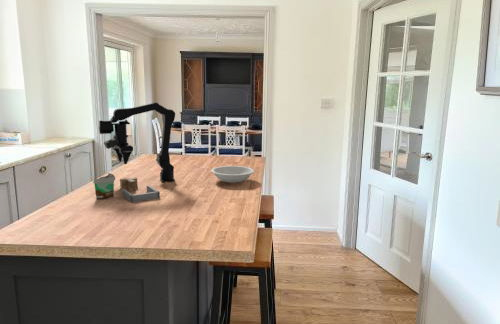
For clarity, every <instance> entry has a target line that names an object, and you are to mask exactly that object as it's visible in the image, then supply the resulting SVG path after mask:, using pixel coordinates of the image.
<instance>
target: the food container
mask: <svg viewBox="0 0 500 324" xmlns="http://www.w3.org/2000/svg"><path fill="white" fill-rule="evenodd" d="M115 181H116V176H115V175H114V174H113V173H111V172H110V173H107V175H105V176H101V177H99V178H93V184H94V190H95V191H94V192H95V198H96V200H108V199H110V198H111V199H112V198H113V197H114V196H115V195H114V191H115V190H114V189H115V188H114V187H115Z"/></svg>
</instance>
